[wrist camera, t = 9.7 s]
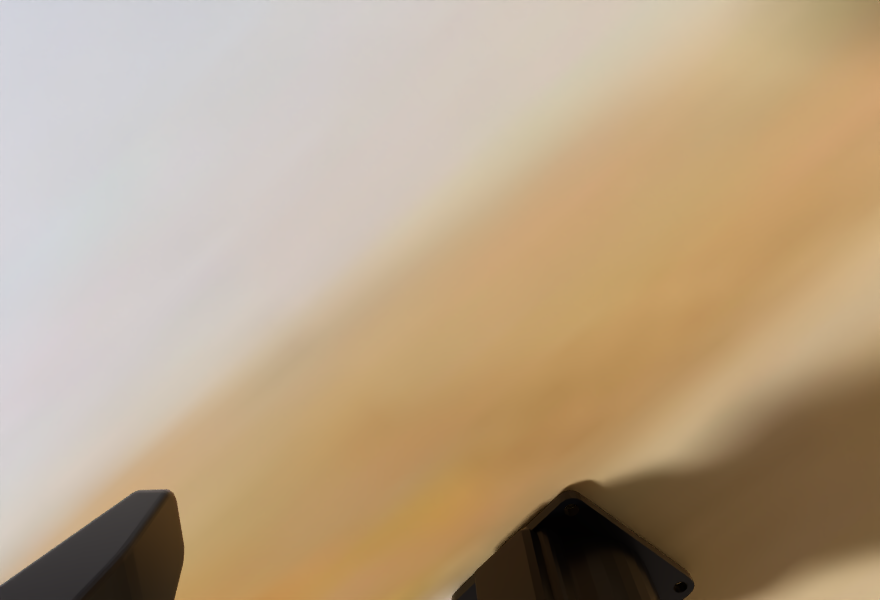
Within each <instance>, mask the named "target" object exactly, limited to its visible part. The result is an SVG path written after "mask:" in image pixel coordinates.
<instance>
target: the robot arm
mask: <svg viewBox="0 0 880 600" xmlns="http://www.w3.org/2000/svg"><path fill="white" fill-rule="evenodd" d="M569 504H575V506H574V507H573V508H569V509H567V508H565V507H566V506H567V505H569ZM183 560H184V542H183V536H182V530H181V524H180V518H179V512H178V506H177V501H176V498H175V496H174V493H173V492H171V491H170V490H167V489H165V490H138V491H135V492H134V493H132V494H130V495H129V496H128V497H126V498H125V499H123V500H122V501H120V502H119V503H118V504H116V505H115V506H113V507H112V508H110V509H109V510H108V511H106V512H105V513H103V514H102V515H100V516H99V517H98V518H96V519H95V520H93V521H92V522H90V523H89V524H88V525H86V526H85V527H83V528H82V529H80V530H79V531H78V532H76V533H75V534H73V535H72V536H70V537H69V538H68V539H66V540H65V541H63V542H62V543H60V544H59V545H58V546H56V547H55V548H53V549H52V550H50V551H49V552H48V553H46V554H45V555H43V556H42V557H40V558H39V559H38V560H36V561H35V562H33V563H32V564H30V565H29V566H28V567H26V568H25V569H23V570H22V571H20V572H19V573H18V574H16V575H15V576H13V577H12V578H10V579H9V580H8V581H6V582H5V583H3V584H2V585H0V600H174V598H175V594H176V590H177V586H178V582H179V578H180V574H181V570H182V566H183ZM678 582H681V583H680V584H676V583H678ZM693 589H694V582H693V580H692V578H691V576H690V574H689V573H688V572H687V571H686V570H685V569H684V568H682V567H681V566H680V565H678V564H677V563H675V562H674V561H673V560H671V559H670V558H668V557H667V556H666V555H664V554H663V553H662V552H660V551H659V550H657V549H656V548H655V547H653V546H652V545H650V544H649V543H648V542H646V541H645V540H643V539H642V538H641V537H639V536H638V535H637V534H635V533H634V532H632V531H631V530H630V529H628V528H627V527H625V526H624V525H623V524H621V523H620V522H619V521H617V520H616V519H614V518H613V517H612V516H610V515H609V514H607V513H606V512H605V511H603V510H602V509H601V508H599V507H598V506H596V505H595V504H594V503H592V502H591V501H589V500H588V499H587V498H585V497H584V496H582V495H581V494H580V493H578V492H576V491H566V492H563V493H561V494H560V495H558V496H557V497H556V498H555V499H554V500H553V501H552V502H551V503H550V504H549V505H548V506H547V507H546V508H545V509H544V510H542V511H541V512H540V513H539V514H538V515H537V516H536V517H535V518H534V519H533V520H532V521H531V522H530V523H529V524H528V525H526V526H525V527H524V528H523V529H521V530H519V531H518V532H517V533H516V534H515V535H514V536H512V537H511V538H510V539H509V540H508V541H507V542H506V543H505V544H504V545H503V546H502V547H501V548H500V549H499V550H498V551H497V552H495V553H494V554H493V555H492V556H491V557H490V558H489V559H488V560H487V561H486V562H485V563H484V564H483V565H482V566H481V567H479V568H478V569H477V570H476V571H475V574H474V575H473V576H472V577H471V578H470V579H469V580H468V581H467V582H466V583H465V584H464V585H462V586H461V587H460V588H459V589H458V590H457V591H456V592H455V593H454V594H453V596H452V600H683V599H684V598H685V597H687V596H688V595H689V594H690V593H691V592H692V591H693Z"/></svg>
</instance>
